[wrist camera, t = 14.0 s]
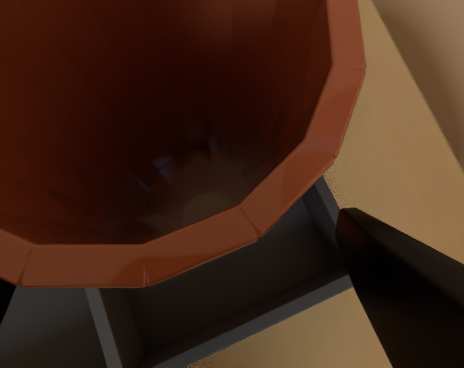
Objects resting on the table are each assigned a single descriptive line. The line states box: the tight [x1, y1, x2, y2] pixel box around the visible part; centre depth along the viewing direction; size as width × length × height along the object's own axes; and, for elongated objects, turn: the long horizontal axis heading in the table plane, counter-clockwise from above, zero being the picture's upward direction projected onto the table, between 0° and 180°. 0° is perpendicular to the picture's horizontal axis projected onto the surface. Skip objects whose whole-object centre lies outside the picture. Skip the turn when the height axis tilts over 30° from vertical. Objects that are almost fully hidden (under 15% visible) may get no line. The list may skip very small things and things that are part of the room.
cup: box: [0, 0, 366, 288], centre depth 10 cm, size 6×6×13 cm
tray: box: [0, 176, 353, 368], centre depth 14 cm, size 14×24×3 cm, turn 113°
